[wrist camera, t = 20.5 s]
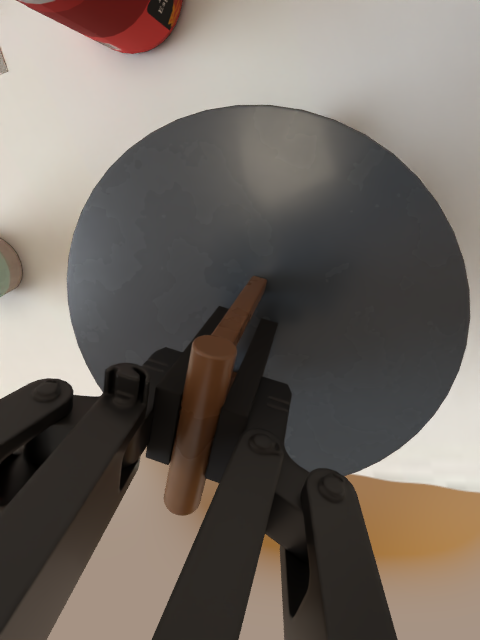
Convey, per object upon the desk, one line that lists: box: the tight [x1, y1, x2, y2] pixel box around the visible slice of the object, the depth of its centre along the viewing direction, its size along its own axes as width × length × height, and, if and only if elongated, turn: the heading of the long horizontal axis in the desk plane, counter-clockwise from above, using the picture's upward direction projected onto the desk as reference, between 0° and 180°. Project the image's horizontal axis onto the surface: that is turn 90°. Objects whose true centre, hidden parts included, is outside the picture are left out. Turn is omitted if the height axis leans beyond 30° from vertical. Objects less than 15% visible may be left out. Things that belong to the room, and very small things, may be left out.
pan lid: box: [67, 105, 470, 516], centre depth 14 cm, size 19×19×9 cm
